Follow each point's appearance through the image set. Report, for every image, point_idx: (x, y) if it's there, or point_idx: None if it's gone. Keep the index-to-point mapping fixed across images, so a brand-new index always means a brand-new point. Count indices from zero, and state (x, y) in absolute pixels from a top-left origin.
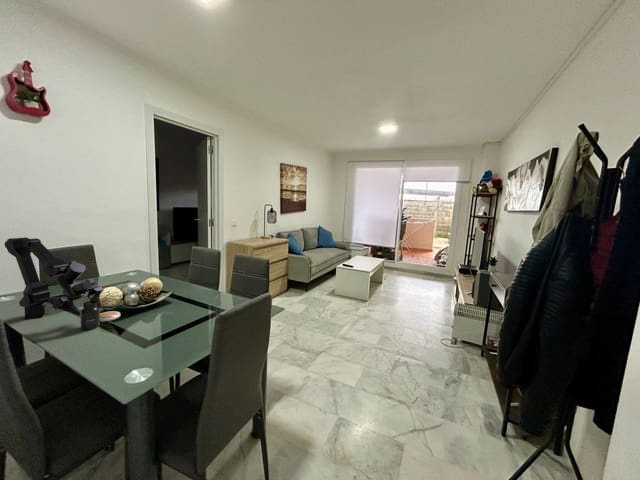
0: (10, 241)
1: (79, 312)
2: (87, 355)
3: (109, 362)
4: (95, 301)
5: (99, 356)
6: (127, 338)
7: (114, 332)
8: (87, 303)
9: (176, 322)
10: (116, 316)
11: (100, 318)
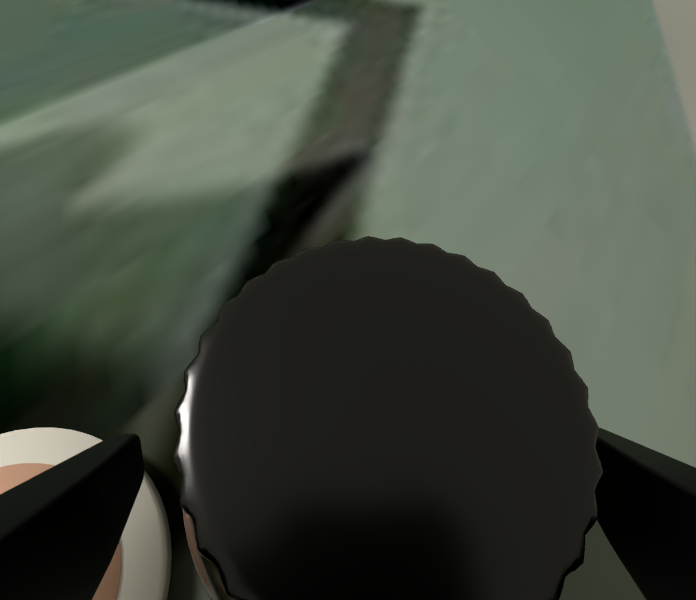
0: None
1: (616, 446)
2: (609, 132)
3: (572, 37)
4: (230, 340)
5: (575, 88)
6: (380, 100)
7: (348, 208)
8: (502, 380)
9: (98, 22)
10: (32, 434)
11: (127, 585)
